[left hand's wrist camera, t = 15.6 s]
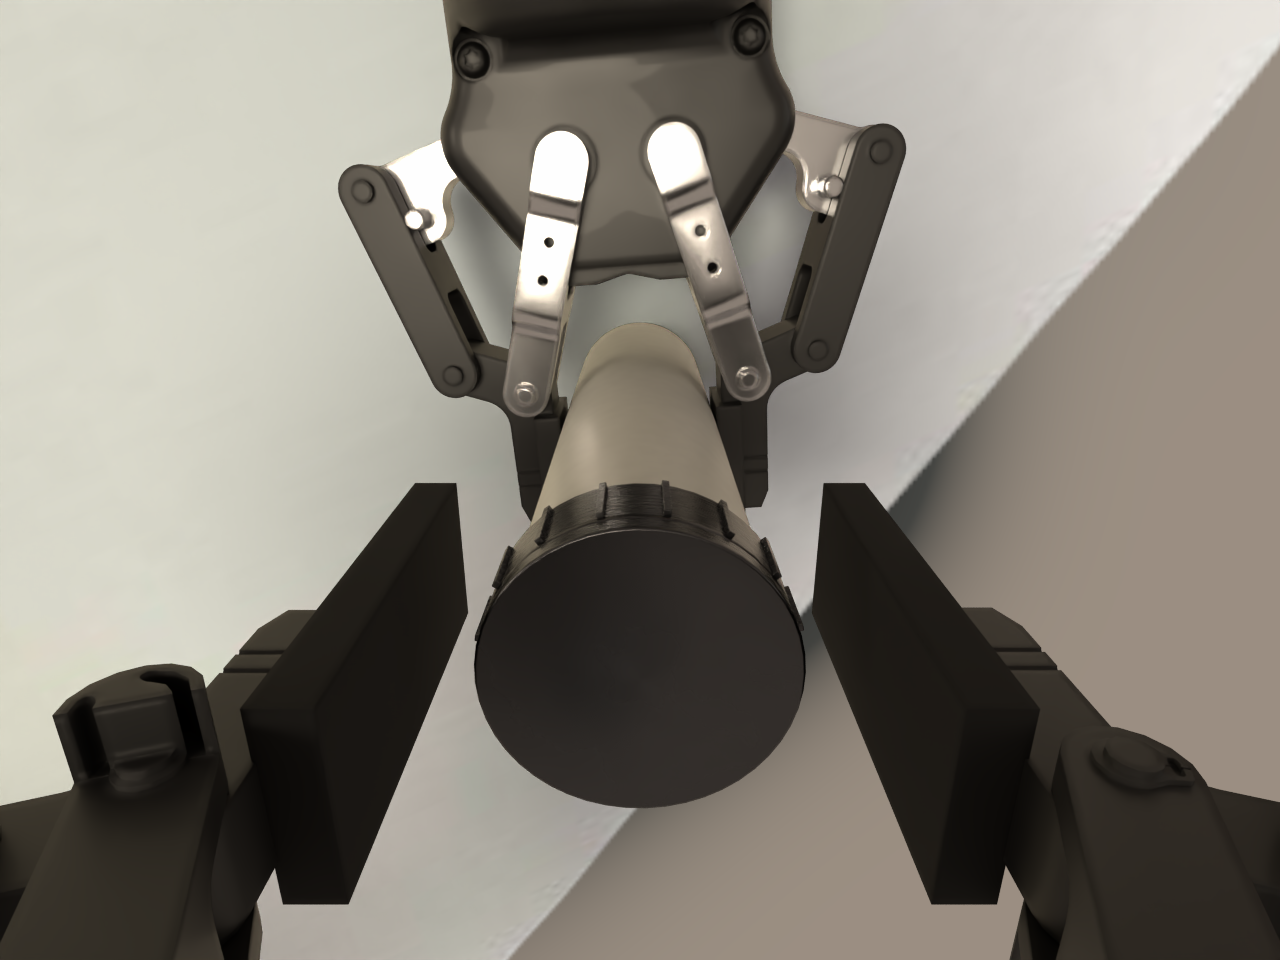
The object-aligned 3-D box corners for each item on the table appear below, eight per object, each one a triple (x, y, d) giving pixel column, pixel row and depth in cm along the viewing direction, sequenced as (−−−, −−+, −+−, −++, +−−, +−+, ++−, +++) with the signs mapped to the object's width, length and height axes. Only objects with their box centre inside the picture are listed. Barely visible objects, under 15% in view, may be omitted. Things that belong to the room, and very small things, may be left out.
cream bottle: (612, 455, 28) (576, 805, 12) (561, 353, 27) (442, 594, 11) (716, 408, 28) (825, 712, 11) (669, 302, 26) (715, 475, 10)
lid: (829, 677, 12) (855, 747, 11) (573, 772, 13) (563, 850, 12) (719, 428, 11) (732, 468, 9) (438, 550, 12) (407, 605, 10)
